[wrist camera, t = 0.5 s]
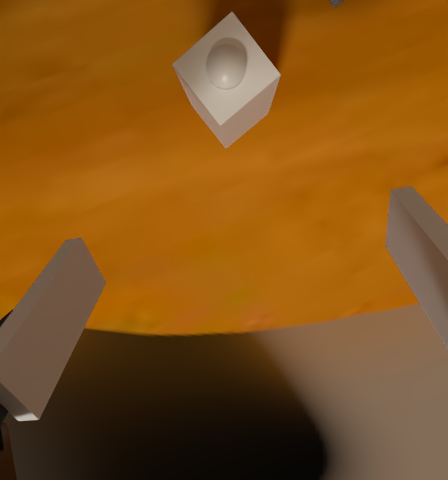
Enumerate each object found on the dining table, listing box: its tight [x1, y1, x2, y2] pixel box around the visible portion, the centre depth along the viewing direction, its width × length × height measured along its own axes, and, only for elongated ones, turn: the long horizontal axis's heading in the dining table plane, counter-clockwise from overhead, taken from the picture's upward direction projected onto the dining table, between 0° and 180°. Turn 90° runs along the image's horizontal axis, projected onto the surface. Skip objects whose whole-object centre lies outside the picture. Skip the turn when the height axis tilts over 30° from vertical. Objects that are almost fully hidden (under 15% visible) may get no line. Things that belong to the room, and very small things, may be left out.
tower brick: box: [172, 12, 281, 148], centre depth 31 cm, size 6×6×12 cm
